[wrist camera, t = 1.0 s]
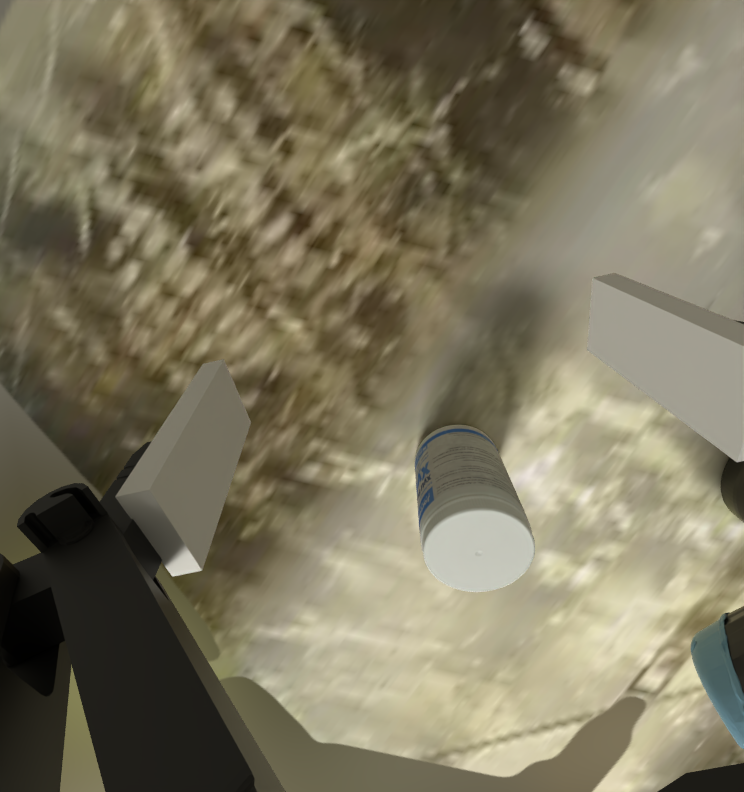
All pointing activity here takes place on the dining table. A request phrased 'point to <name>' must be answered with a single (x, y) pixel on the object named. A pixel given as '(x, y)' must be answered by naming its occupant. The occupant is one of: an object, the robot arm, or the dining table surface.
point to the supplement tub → (469, 512)
